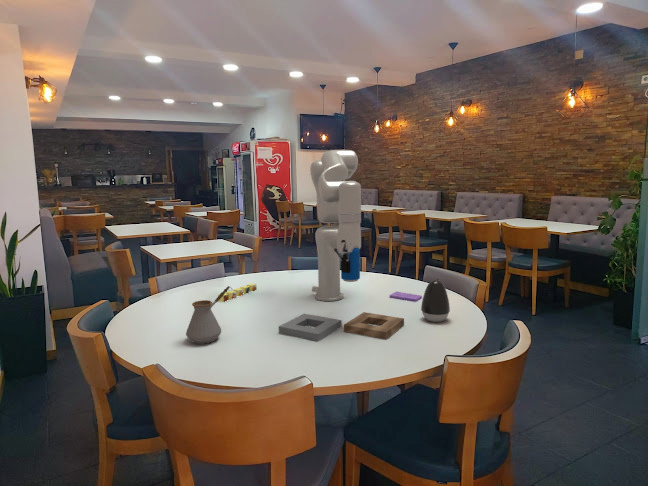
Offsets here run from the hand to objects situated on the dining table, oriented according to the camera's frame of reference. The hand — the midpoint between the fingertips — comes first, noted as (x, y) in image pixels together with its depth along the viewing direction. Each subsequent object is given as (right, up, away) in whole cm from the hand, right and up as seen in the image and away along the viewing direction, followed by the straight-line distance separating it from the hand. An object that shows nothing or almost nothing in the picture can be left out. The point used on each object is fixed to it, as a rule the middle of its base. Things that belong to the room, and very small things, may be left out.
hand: (350, 269), depth 156 cm
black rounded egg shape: (+32, -19, +11) cm, 39 cm away
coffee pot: (-47, -23, 0) cm, 52 cm away
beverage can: (0, -4, +1) cm, 4 cm away
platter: (-46, -15, +50) cm, 69 cm away
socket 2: (+9, -21, +3) cm, 23 cm away
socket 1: (-14, -21, +3) cm, 26 cm away
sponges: (+27, -15, +41) cm, 51 cm away
